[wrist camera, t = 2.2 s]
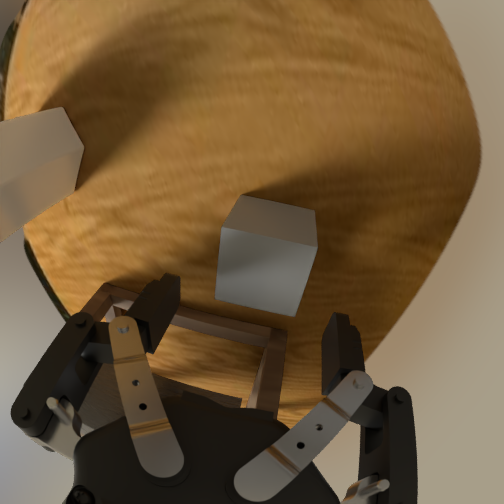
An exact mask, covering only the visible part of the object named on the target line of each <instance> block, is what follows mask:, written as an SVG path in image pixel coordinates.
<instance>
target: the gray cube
mask: <svg viewBox="0 0 504 504" xmlns="http://www.w3.org/2000/svg"><path fill="white" fill-rule="evenodd" d="M317 249H318V242H317V229H316V218H315V210H310V209H306V208H302V207H297V206H293V205H288V204H284V203H279V202H274V201H270V200H265V199H260V198H255V197H250V196H245V195H240V197H239V199H238V200H237V202H236V204H235V205H234V207H233V209H232V210H231V212H230V214H229V215H228V217H227V219H226V220H225V222H224V224H223V225H222V228H221V238H220V247H219V257H218V267H217V278H216V289H215V299H216V300H220V301H224V302H228V303H233V304H237V305H241V306H246V307H250V308H255V309H259V310H264V311H268V312H273V313H278V314H282V315H287V316H292V317H295V315H296V312H297V309H298V306H299V303H300V301H301V298H302V295H303V292H304V289H305V286H306V283H307V280H308V277H309V274H310V271H311V268H312V265H313V262H314V259H315V255H316V252H317Z"/></svg>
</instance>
